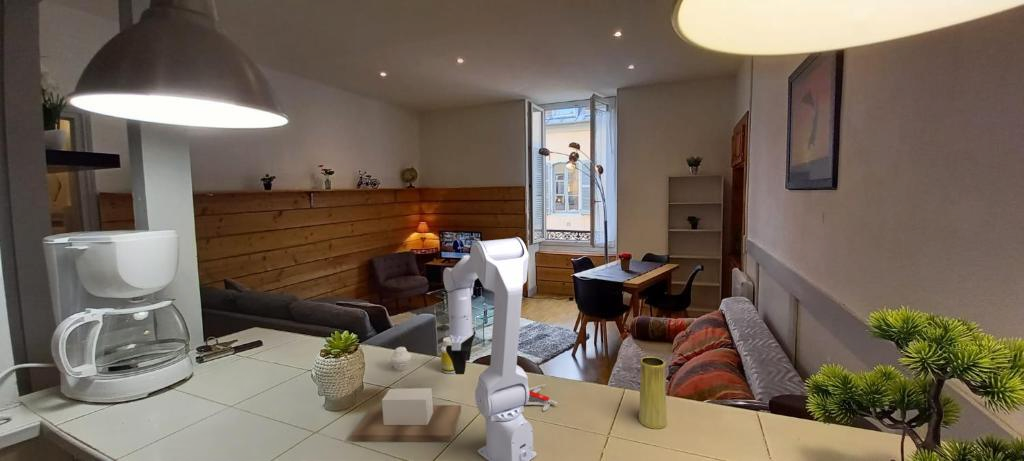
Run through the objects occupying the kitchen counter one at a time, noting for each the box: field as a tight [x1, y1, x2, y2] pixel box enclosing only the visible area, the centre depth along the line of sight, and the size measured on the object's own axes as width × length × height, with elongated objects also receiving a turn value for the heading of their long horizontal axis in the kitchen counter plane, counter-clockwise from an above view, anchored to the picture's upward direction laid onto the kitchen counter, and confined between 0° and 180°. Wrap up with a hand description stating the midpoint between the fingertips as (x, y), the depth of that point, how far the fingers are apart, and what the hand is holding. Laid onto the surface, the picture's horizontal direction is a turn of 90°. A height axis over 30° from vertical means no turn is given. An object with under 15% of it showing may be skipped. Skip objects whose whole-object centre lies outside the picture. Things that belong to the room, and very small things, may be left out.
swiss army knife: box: [525, 383, 558, 412], centre depth 100 cm, size 12×14×2 cm
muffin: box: [390, 346, 412, 372], centre depth 121 cm, size 6×6×7 cm
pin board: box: [350, 404, 462, 443], centre depth 91 cm, size 22×12×4 cm, turn 87°
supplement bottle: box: [440, 336, 455, 374], centre depth 119 cm, size 5×5×10 cm
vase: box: [638, 356, 668, 430], centre depth 89 cm, size 6×6×14 cm
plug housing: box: [381, 387, 434, 425], centre depth 91 cm, size 10×5×6 cm, turn 87°
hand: (462, 366), depth 100 cm, fingers open, 7 cm apart
